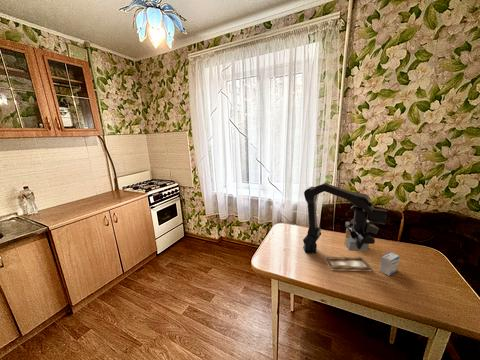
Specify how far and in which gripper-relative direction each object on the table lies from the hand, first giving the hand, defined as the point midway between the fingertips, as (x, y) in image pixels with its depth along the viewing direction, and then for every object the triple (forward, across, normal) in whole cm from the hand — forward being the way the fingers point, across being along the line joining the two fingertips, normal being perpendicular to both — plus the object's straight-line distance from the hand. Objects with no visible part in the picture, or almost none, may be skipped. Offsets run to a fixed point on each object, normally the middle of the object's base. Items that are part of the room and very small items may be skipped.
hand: (356, 246), depth 103 cm
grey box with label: (+1, 0, 0) cm, 1 cm away
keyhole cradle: (+11, 0, +4) cm, 12 cm away
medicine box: (+12, -4, -15) cm, 19 cm away
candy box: (+12, +21, -8) cm, 25 cm away
